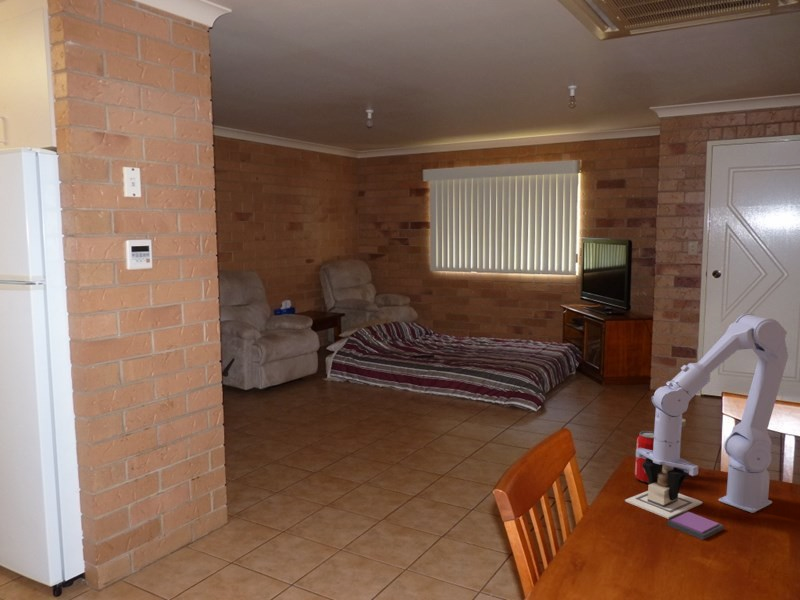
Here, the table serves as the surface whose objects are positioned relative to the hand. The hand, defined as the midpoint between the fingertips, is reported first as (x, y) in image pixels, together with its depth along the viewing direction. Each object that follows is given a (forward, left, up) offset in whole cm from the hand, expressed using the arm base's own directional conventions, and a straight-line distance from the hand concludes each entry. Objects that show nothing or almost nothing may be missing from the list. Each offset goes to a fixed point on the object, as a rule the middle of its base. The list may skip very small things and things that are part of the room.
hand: (663, 495), depth 148 cm
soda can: (-9, -10, -2) cm, 14 cm away
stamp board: (0, 0, -2) cm, 2 cm away
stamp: (0, 0, -1) cm, 1 cm away
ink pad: (+6, +11, -2) cm, 13 cm away
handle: (-17, -9, -2) cm, 19 cm away
